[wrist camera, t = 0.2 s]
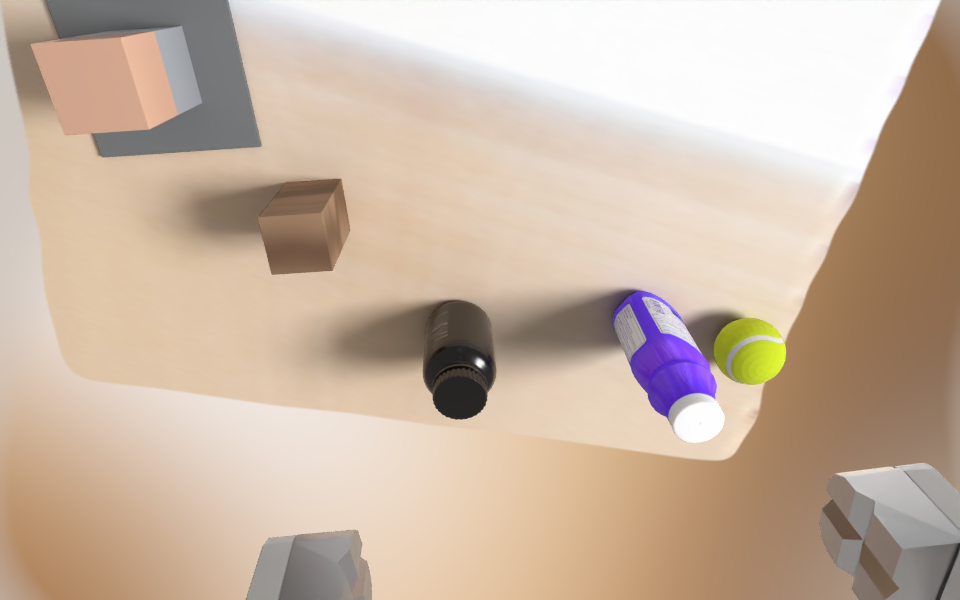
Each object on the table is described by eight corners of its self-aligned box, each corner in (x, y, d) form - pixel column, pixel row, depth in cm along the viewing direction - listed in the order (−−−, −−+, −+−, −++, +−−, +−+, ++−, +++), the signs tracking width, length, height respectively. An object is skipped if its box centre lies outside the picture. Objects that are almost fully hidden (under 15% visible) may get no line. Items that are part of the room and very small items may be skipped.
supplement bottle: (434, 360, 66) (428, 434, 55) (419, 305, 62) (410, 373, 52) (497, 349, 65) (504, 422, 54) (486, 293, 62) (490, 359, 51)
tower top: (72, 36, 45) (30, 44, 41) (154, 31, 45) (120, 37, 41) (101, 120, 48) (64, 135, 43) (178, 114, 48) (149, 129, 43)
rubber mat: (41, -22, 48) (38, -22, 48) (219, -35, 48) (218, -35, 47) (104, 156, 55) (102, 157, 54) (261, 145, 54) (260, 146, 54)
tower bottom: (107, 31, 49) (72, 36, 45) (181, 25, 49) (154, 31, 45) (132, 107, 52) (101, 120, 48) (202, 102, 52) (178, 114, 48)
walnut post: (286, 182, 56) (257, 217, 48) (341, 178, 56) (321, 213, 48) (297, 233, 58) (271, 274, 50) (350, 230, 58) (332, 270, 50)
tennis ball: (691, 348, 66) (714, 385, 60) (727, 297, 63) (754, 331, 57) (744, 368, 67) (771, 406, 61) (780, 318, 64) (813, 353, 58)
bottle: (598, 316, 63) (641, 426, 48) (636, 276, 61) (694, 378, 46) (648, 351, 66) (704, 467, 50) (687, 314, 64) (758, 423, 48)
